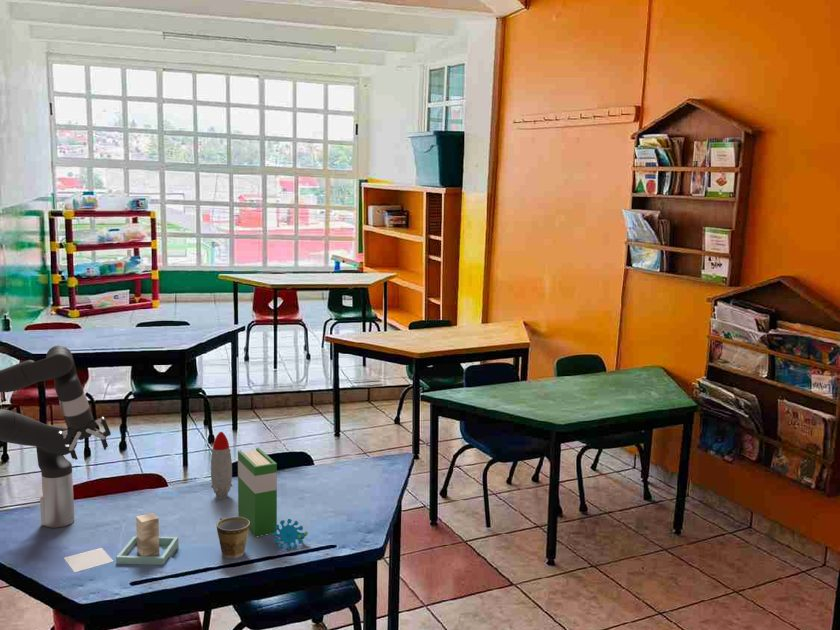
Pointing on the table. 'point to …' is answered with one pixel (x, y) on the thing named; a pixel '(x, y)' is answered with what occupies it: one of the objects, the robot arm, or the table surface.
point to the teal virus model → (289, 534)
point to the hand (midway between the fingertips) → (90, 453)
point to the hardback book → (257, 491)
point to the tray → (165, 543)
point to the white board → (88, 559)
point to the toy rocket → (221, 466)
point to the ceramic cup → (233, 536)
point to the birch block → (147, 534)
